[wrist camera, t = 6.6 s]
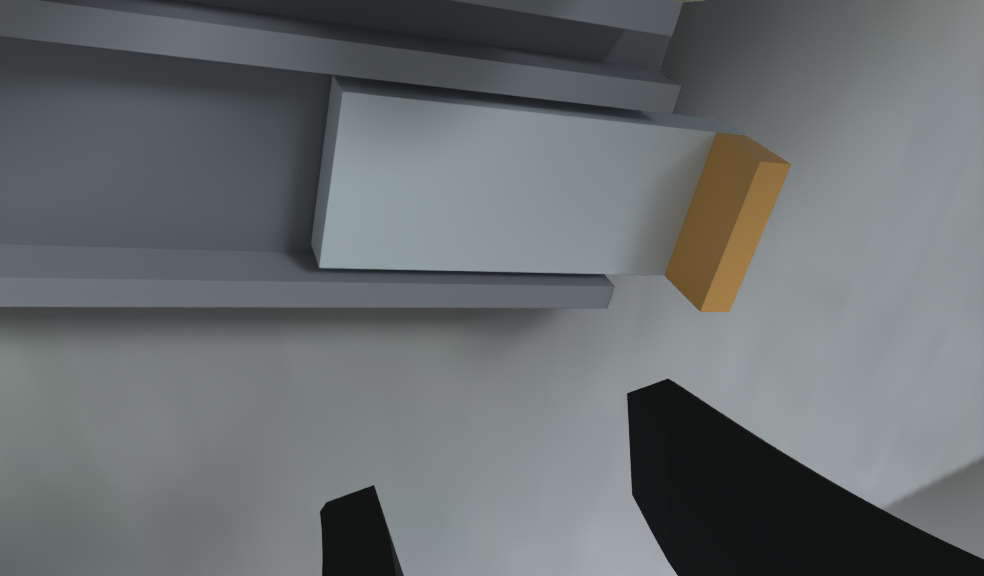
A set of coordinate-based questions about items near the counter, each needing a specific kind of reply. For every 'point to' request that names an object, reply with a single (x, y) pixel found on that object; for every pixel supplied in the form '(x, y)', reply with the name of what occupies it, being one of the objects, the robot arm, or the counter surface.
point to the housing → (264, 138)
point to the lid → (538, 188)
